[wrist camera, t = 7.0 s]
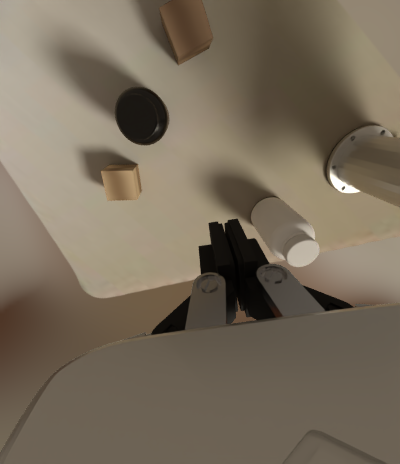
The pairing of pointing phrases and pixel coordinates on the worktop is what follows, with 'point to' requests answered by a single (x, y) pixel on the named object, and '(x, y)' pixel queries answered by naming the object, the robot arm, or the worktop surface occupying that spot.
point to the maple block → (121, 182)
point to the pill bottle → (285, 232)
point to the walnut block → (186, 28)
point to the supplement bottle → (141, 116)
